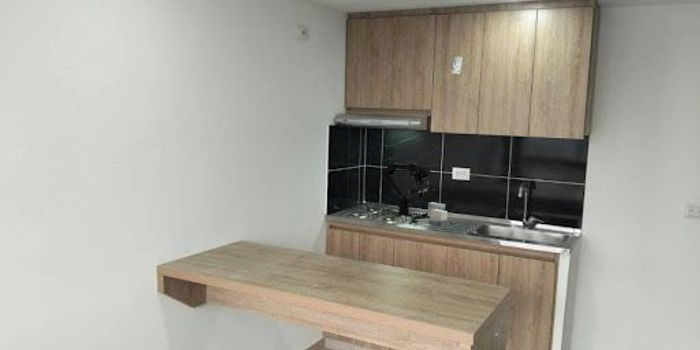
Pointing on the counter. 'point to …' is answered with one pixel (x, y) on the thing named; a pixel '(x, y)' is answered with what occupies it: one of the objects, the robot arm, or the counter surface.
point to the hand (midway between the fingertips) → (425, 202)
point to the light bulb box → (435, 207)
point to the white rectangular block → (438, 215)
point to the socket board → (436, 222)
